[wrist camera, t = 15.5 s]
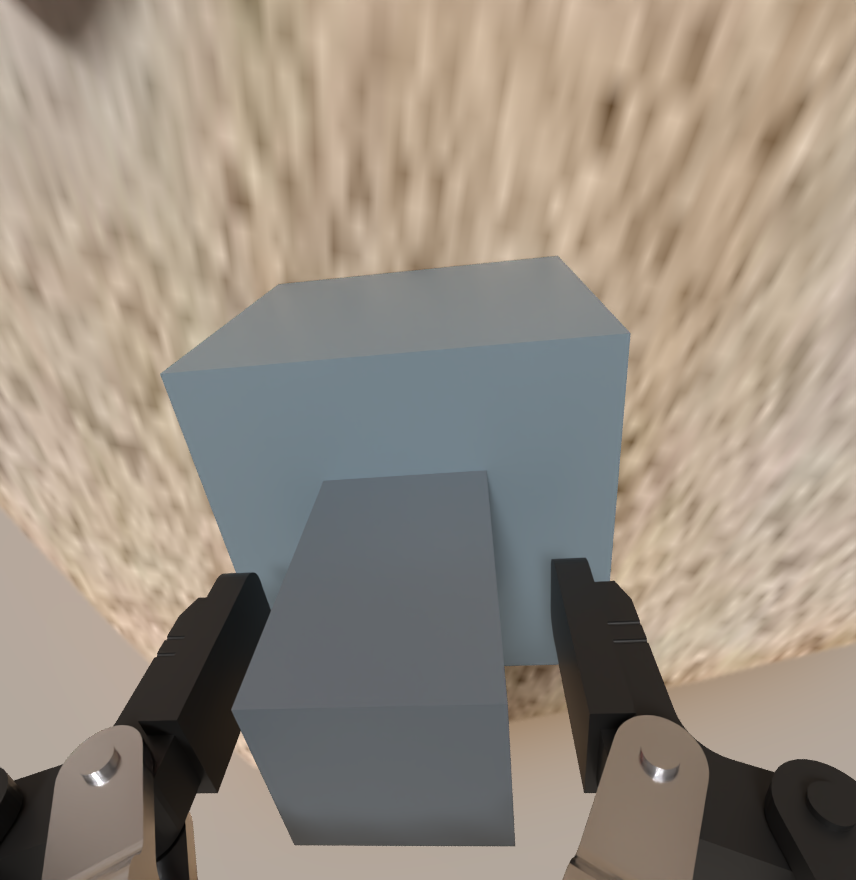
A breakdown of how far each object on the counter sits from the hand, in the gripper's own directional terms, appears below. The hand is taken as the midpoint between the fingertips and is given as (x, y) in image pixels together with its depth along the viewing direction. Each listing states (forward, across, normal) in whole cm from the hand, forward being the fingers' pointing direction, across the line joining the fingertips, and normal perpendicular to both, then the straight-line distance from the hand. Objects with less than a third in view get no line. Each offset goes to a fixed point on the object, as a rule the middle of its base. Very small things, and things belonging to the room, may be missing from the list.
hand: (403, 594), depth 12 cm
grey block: (+11, 0, 0) cm, 11 cm away
